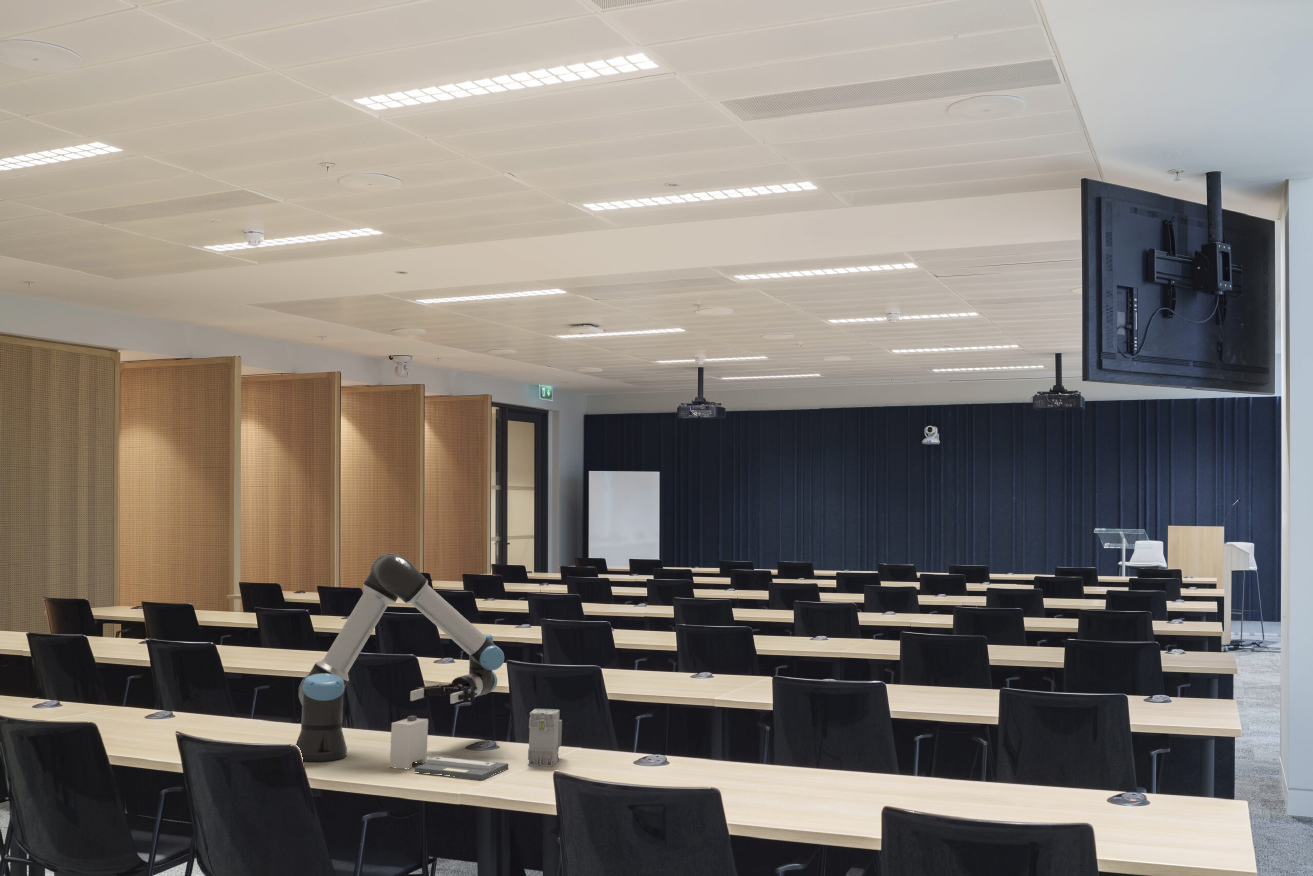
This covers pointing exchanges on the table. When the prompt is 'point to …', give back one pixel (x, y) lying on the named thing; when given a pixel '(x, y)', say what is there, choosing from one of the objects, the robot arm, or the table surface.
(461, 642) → the robot arm
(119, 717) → the table surface
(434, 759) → the panel
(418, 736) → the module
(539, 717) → the circuit breaker
